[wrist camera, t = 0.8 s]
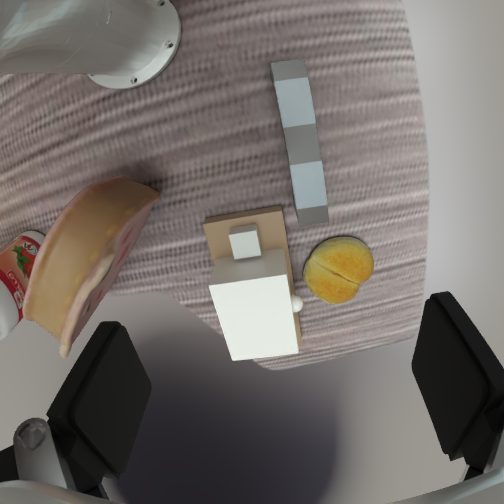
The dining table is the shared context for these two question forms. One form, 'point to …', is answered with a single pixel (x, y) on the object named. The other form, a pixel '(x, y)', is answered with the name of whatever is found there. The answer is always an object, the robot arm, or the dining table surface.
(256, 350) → the white block on board
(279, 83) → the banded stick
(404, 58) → the dining table surface
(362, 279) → the bread roll
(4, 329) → the fruit juice
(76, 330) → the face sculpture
